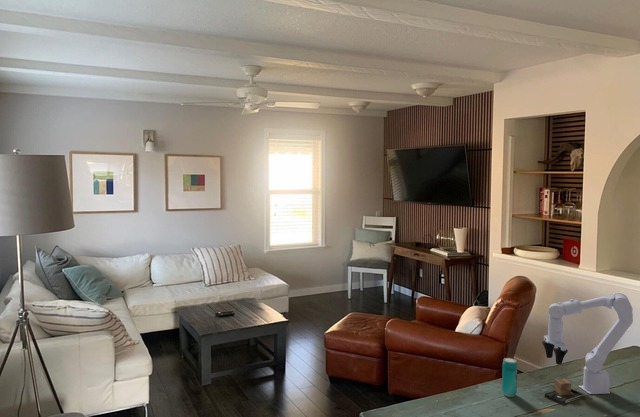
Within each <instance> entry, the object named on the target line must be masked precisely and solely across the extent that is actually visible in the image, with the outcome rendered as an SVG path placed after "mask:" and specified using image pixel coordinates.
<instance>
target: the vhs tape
mask: <svg viewBox="0 0 640 417" xmlns="http://www.w3.org/2000/svg"><path fill="white" fill-rule="evenodd" d="M544 398H547V399H548V400H551V401H553V402H555V403H557V404H559V405H564V404H567V403H570V402H573V401H575V400H579V399H581V398H584V393H583V392H580V391H578V390H574V389H572V388H571V395H559V394H558V393H557V392H556V391H555V390H552V391H549V392H547V393H544Z"/></svg>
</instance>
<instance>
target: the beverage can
mask: <svg viewBox="0 0 640 417" xmlns="http://www.w3.org/2000/svg"><path fill="white" fill-rule="evenodd" d="M501 372H502V373H501V375H502V378H501V380H502V382H501V391H502V394H503V395H504V396H505V397H508V398H509V397H510V398H513V397H516V394H517V387H518V381H517V380H518V362H517V359H514V358H511V357H504V358H503V362H502V371H501Z"/></svg>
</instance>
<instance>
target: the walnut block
mask: <svg viewBox="0 0 640 417" xmlns="http://www.w3.org/2000/svg"><path fill="white" fill-rule="evenodd" d="M571 389H572V383H571V382H570V381H569V380H568V379H566V378H555V379H554V391H556V392H557V393H558V394H559V395H571Z"/></svg>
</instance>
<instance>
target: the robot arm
mask: <svg viewBox="0 0 640 417" xmlns="http://www.w3.org/2000/svg"><path fill="white" fill-rule="evenodd" d="M599 307H606V308H608V309H610V310H612V307H613V309H614V311H615V312H616V313H617V317H618V318H617V320H616V321H615V322H614V323H613V325H612V326H611V327H610V329H609V330H607V333H606V334H605V335H604V336H603V338H602V339H601V341H600V342H599V343H598V344H597V345H596V347H593V348H592V350H591V351H589V352H587V353H586V354H585V357H584V361H585V366H584V367H583V379H582V382H583V383H582V385H578V387H579V389H582V390H583V391H584V392H586V393H587V394H589V395H600V394H601V395H602V394H605V395H606V394H611V392H610V374H609V372H608V371H607V370H605V369H603V368H604V367H603V365H604V363H605V362H606V360H607V357H608V355H610V352H612V350H613V349H614V348H615V346H616V344H618V342H619V341H620V339H622V337H623V336H624V335H625V334H626V332H627V331H628V329H629V328H630V327H631V325H632V324H633V321H634V320H633V319H634V318H633V317H634V314H633V306H632V305H631V302H630V300H629V298H628V296H627V295H625V294H624V293H620V292H619V293H615V294H614V293H611V294H606V295H602V296H598V297H595V298H590V299H587V300H582V301H579V299H573V298H570V299H569V301H568V300H567V301H563V302H562V301H558V303H557V302H556V303H555V302H554V303H552V304H550V305H549V307H548V322H547V323H548V326H547V334H546V335H545V334H544V335H543V341H542V342H541V343H542V346H543V347H544V350H545V356H546V358H547V359H552V358H553V354H554V356H555V364H556V365H562V364H563V361H564V357H565V355H566V354H567V353H568V351H569V350H568V349H567V345H565V343H564V342H563V327H564V324H563V322H564V321H563V317H564V316H570V315H571V316H572V315H576V314H581V313H582V311H584V310H587V309H591V308H599ZM556 347H557V348H556Z"/></svg>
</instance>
